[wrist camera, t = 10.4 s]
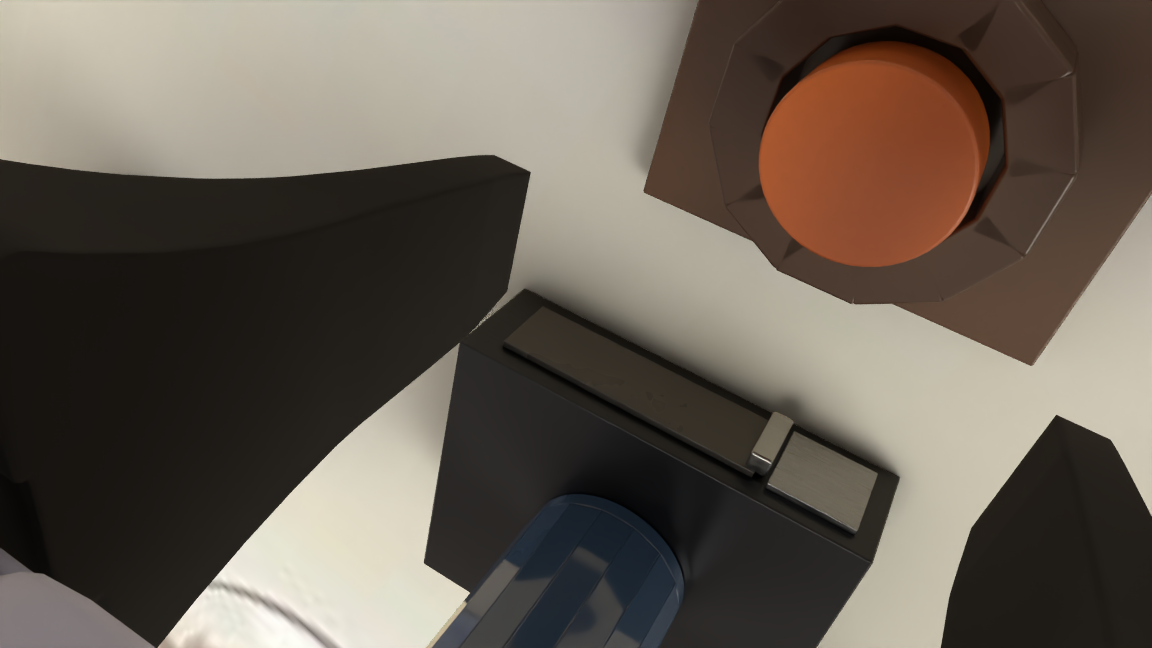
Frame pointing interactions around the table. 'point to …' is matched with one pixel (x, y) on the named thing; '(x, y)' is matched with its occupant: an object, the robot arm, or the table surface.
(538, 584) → the cup
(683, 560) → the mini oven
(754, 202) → the control pad
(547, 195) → the table surface
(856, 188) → the button
